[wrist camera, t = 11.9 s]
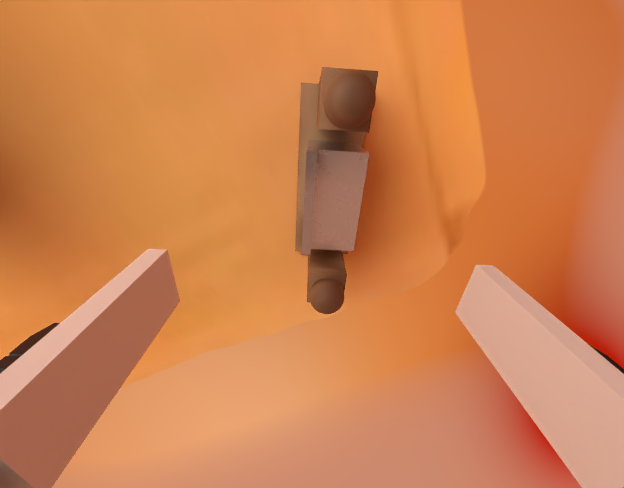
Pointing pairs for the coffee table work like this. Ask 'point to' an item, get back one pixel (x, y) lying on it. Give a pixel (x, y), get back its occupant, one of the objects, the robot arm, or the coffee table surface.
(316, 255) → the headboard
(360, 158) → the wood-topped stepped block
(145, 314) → the robot arm
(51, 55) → the coffee table surface
